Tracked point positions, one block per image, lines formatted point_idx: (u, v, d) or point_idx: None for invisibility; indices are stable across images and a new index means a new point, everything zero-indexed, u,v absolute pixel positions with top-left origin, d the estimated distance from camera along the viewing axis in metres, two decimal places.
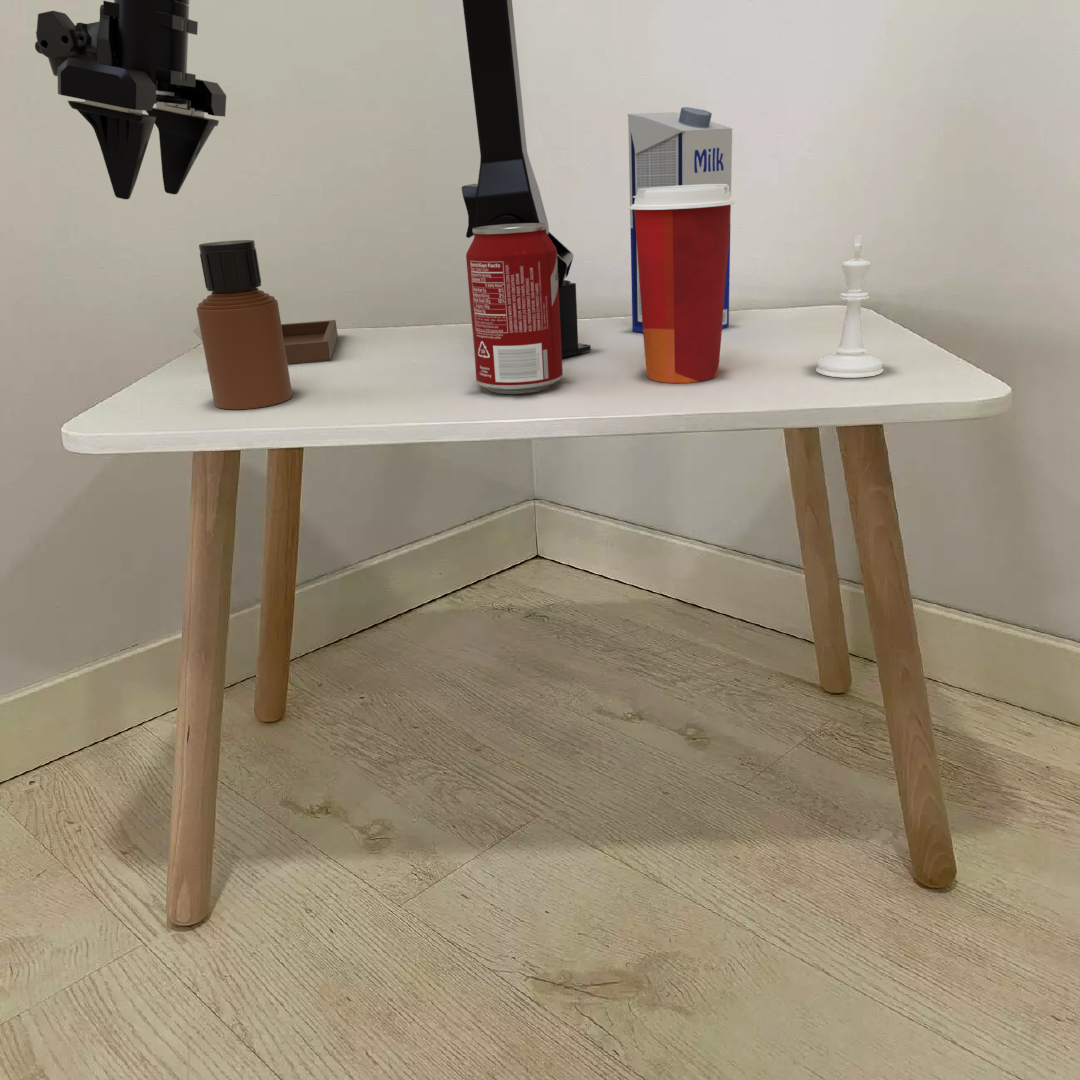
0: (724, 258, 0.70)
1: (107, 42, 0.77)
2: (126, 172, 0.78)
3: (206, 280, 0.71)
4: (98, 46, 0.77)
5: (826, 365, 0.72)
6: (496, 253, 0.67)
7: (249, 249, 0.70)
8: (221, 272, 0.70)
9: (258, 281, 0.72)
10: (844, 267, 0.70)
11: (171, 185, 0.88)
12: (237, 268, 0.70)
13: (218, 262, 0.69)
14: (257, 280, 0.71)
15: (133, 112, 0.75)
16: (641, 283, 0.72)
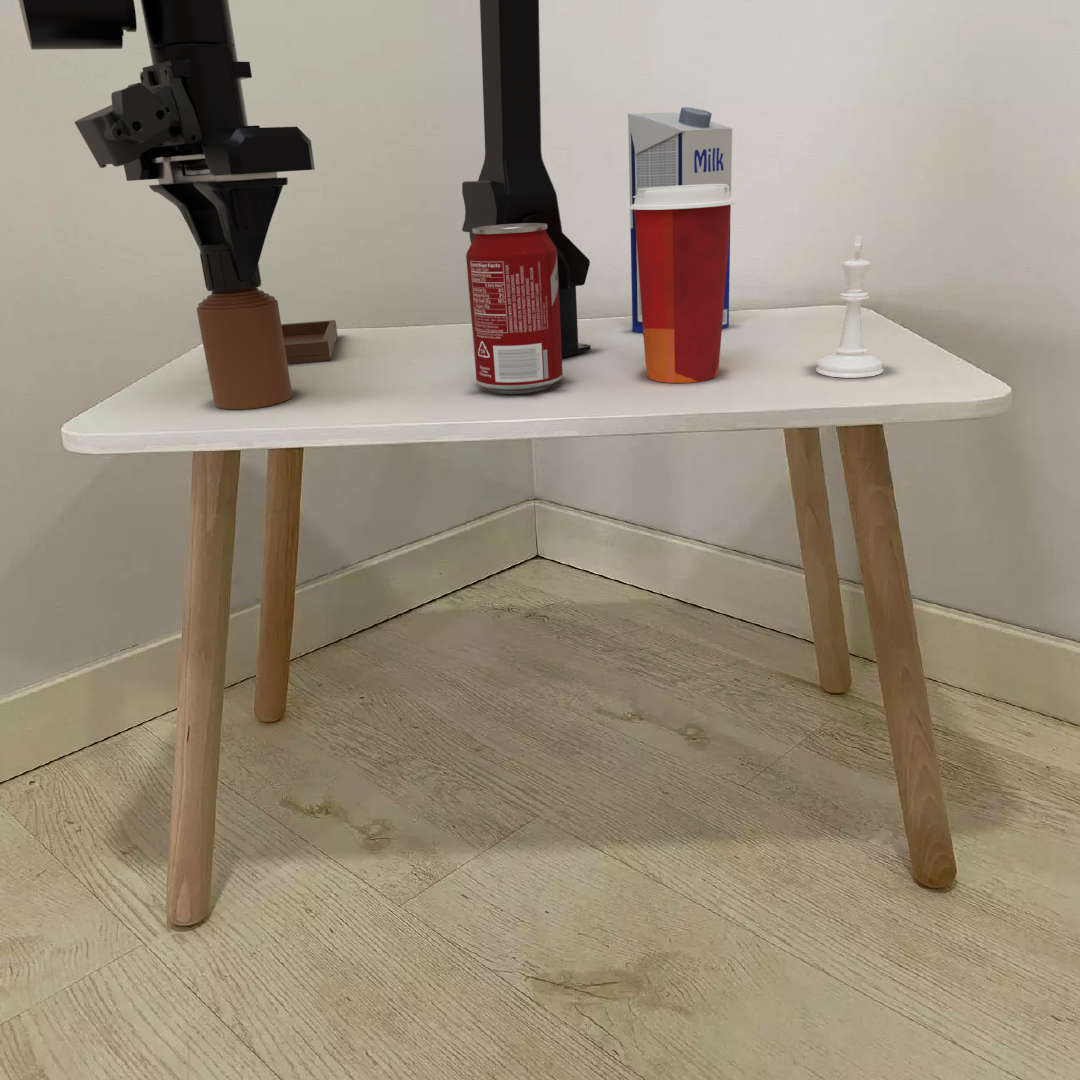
0: (724, 258, 0.70)
1: (191, 108, 0.64)
2: (255, 248, 0.69)
3: (206, 280, 0.71)
4: (181, 116, 0.64)
5: (826, 365, 0.72)
6: (496, 253, 0.67)
7: None
8: (221, 271, 0.70)
9: (258, 281, 0.72)
10: (844, 267, 0.70)
11: None
12: None
13: (218, 262, 0.69)
14: (257, 280, 0.71)
15: None
16: (641, 283, 0.72)
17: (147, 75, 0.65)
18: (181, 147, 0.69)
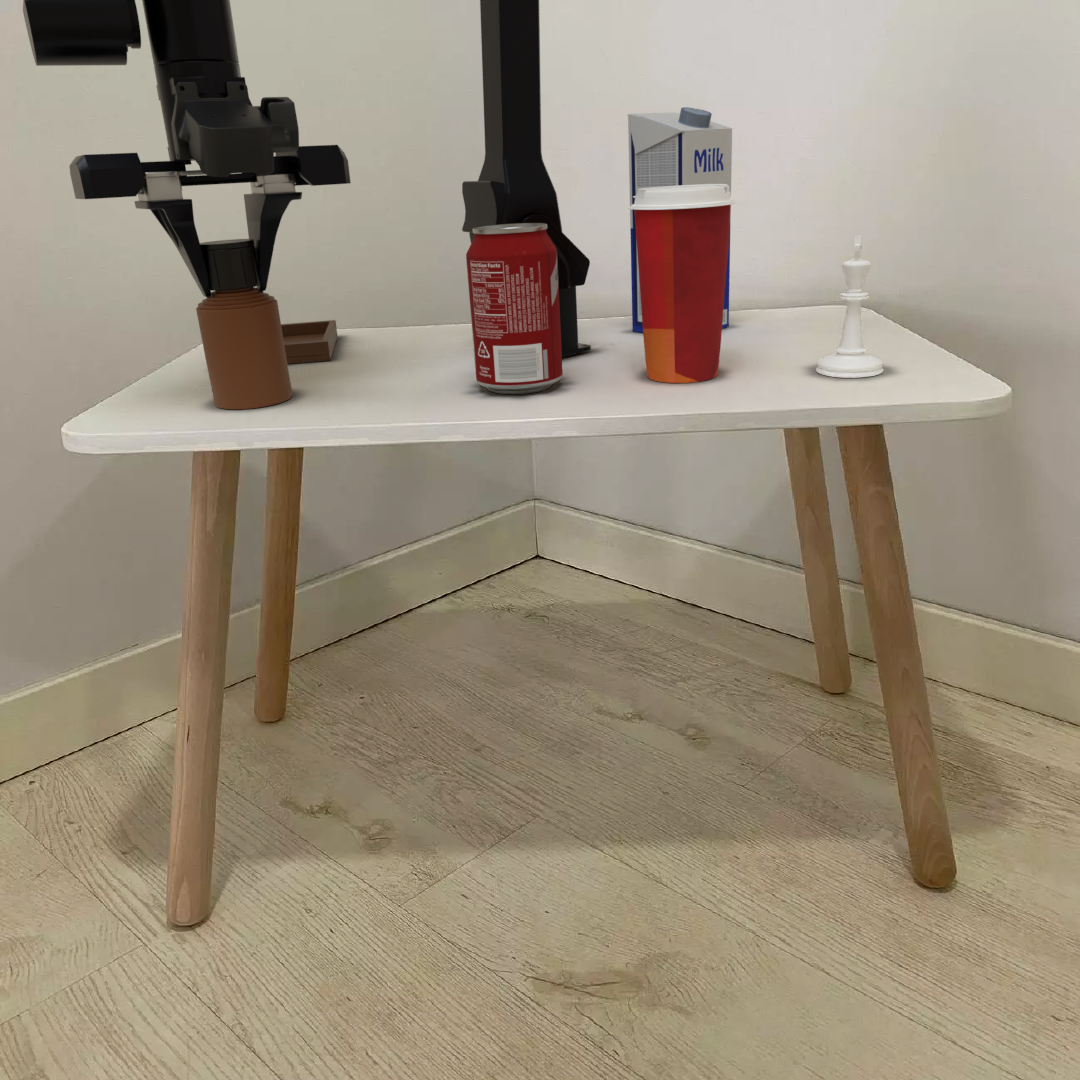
0: (724, 258, 0.70)
1: None
2: None
3: (236, 278, 0.70)
4: None
5: (826, 365, 0.72)
6: (496, 253, 0.67)
7: None
8: (253, 267, 0.71)
9: None
10: (844, 267, 0.70)
11: None
12: None
13: (251, 257, 0.71)
14: None
15: None
16: (641, 283, 0.72)
17: (195, 86, 0.64)
18: None
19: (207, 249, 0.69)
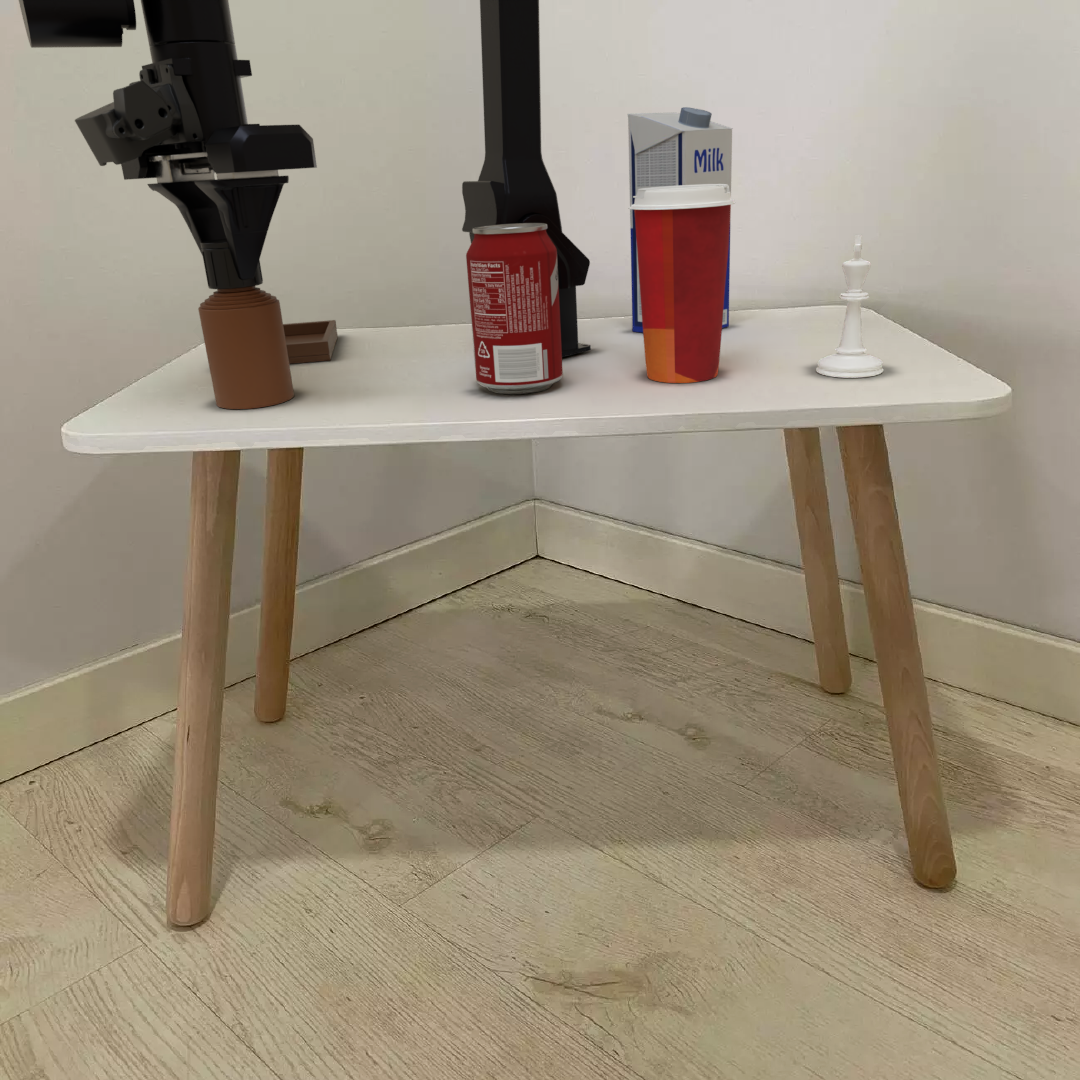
0: (724, 258, 0.70)
1: (192, 106, 0.64)
2: (256, 246, 0.69)
3: (261, 273, 0.72)
4: (182, 113, 0.64)
5: (826, 365, 0.72)
6: (496, 253, 0.67)
7: None
8: None
9: None
10: (844, 267, 0.70)
11: None
12: None
13: None
14: None
15: None
16: (641, 283, 0.72)
17: (147, 73, 0.65)
18: (180, 145, 0.69)
19: None
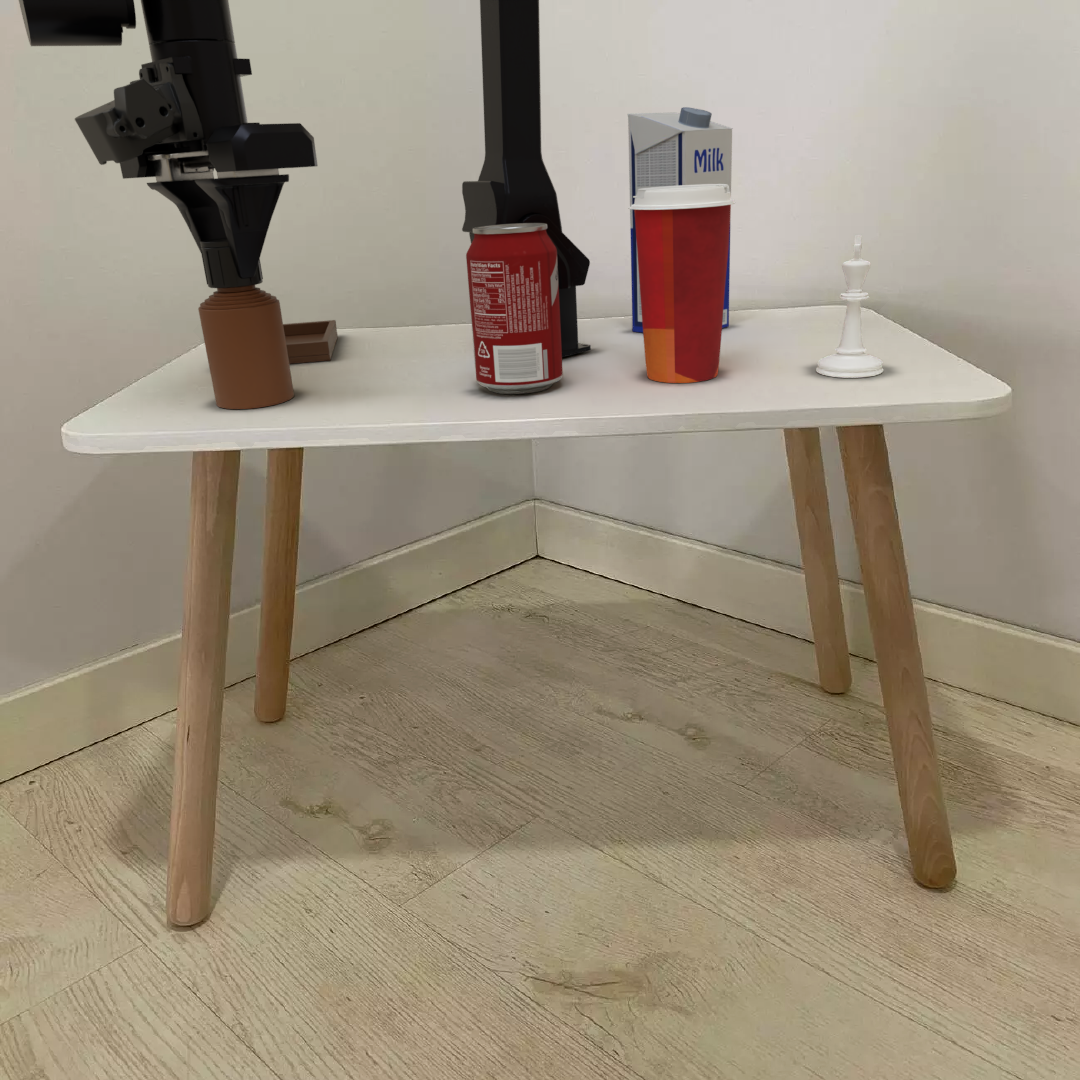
0: (724, 258, 0.70)
1: (192, 105, 0.64)
2: (256, 245, 0.69)
3: None
4: (183, 112, 0.64)
5: (826, 365, 0.72)
6: (496, 253, 0.67)
7: (202, 249, 0.70)
8: None
9: (210, 282, 0.71)
10: (844, 267, 0.70)
11: None
12: None
13: None
14: (209, 281, 0.71)
15: None
16: (641, 283, 0.72)
17: (147, 72, 0.65)
18: (180, 144, 0.69)
19: None
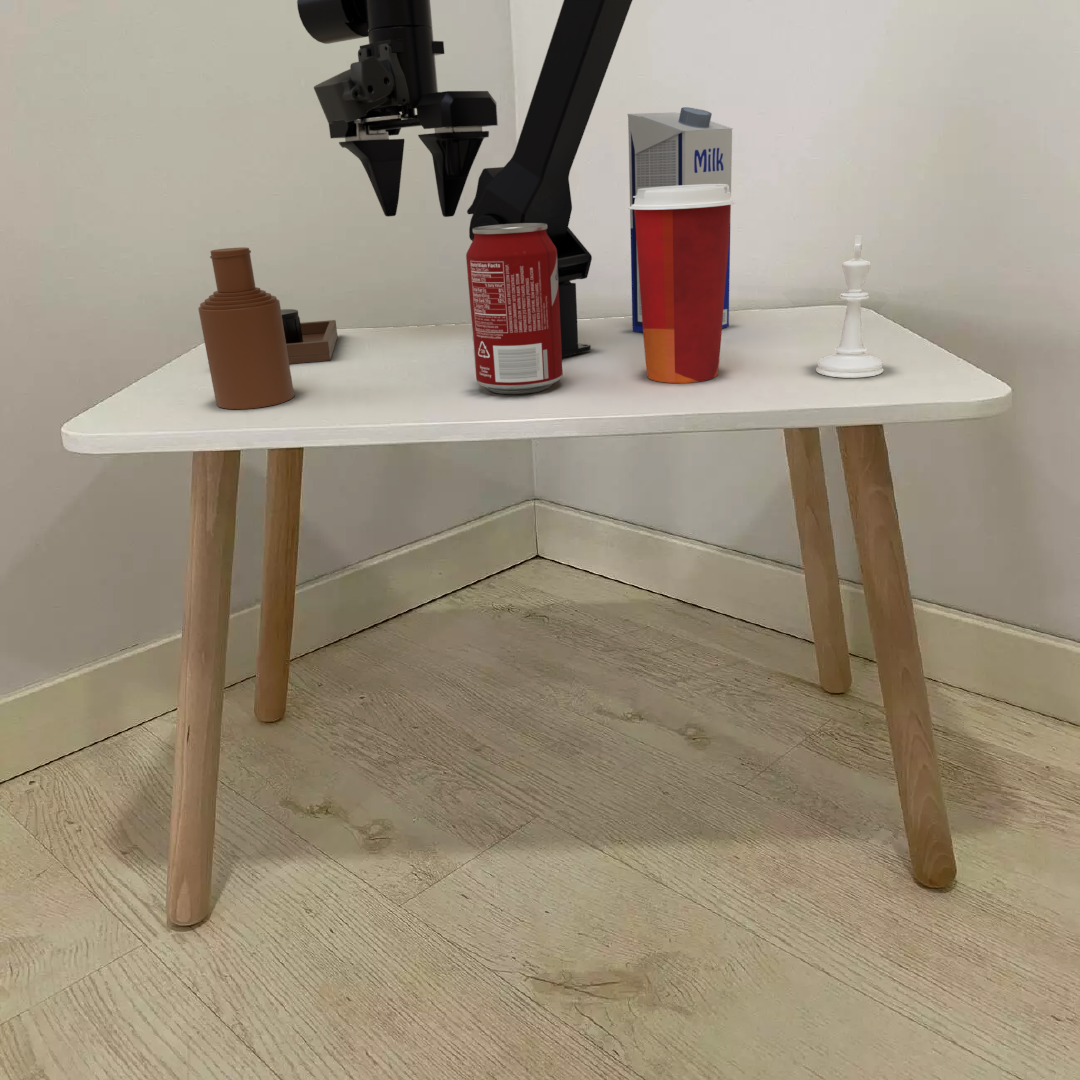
0: (724, 258, 0.70)
1: (403, 77, 0.82)
2: (458, 189, 0.86)
3: None
4: (396, 82, 0.82)
5: (826, 365, 0.72)
6: (496, 253, 0.67)
7: None
8: None
9: None
10: (844, 267, 0.70)
11: (391, 208, 0.93)
12: None
13: None
14: None
15: None
16: (641, 283, 0.72)
17: (365, 51, 0.83)
18: (384, 109, 0.87)
19: None
